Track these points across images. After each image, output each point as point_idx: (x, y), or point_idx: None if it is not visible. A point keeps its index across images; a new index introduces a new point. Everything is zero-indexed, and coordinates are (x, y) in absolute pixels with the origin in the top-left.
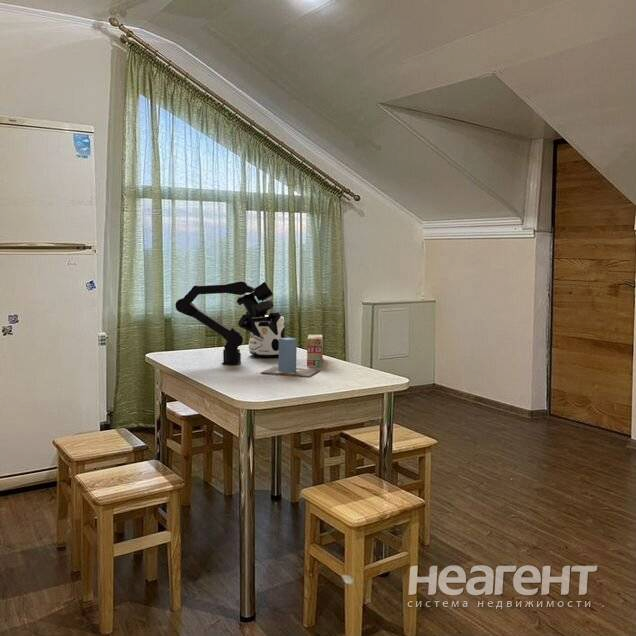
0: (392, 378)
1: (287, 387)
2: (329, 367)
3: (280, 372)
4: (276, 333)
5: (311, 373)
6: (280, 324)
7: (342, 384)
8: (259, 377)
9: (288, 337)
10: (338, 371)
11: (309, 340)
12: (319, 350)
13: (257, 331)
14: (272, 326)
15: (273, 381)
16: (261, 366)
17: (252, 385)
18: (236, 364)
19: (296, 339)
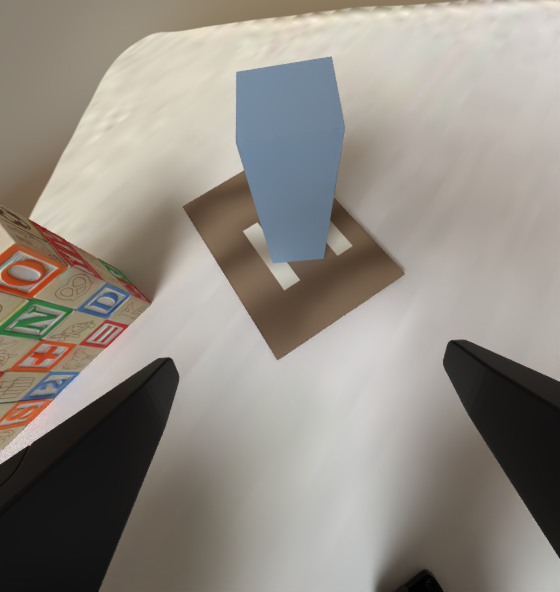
0: (126, 67)
1: (426, 78)
2: (106, 247)
3: (335, 229)
4: (167, 374)
5: None
6: None
7: (274, 59)
8: (441, 220)
9: (236, 141)
10: (144, 181)
11: (24, 241)
12: (58, 240)
13: (534, 376)
14: (45, 569)
15: (425, 149)
16: (304, 433)
17: (522, 130)
18: (414, 578)
19: (238, 77)
